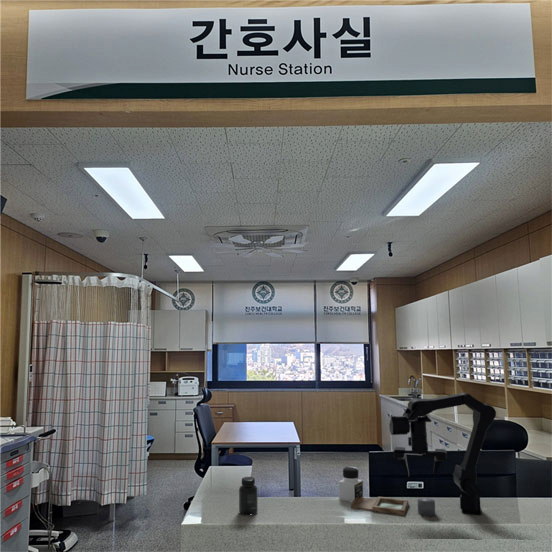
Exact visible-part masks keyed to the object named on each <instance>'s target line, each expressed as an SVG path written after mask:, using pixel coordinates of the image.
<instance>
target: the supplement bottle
mask: <svg viewBox="0 0 552 552" xmlns="http://www.w3.org/2000/svg"><path fill="white" fill-rule="evenodd" d="M258 503H259V501H258V487H257V485H256V478H255V477H253V476H244V477H242V478H241V485H240V487H239V489H238V505H239V506H238V513H239V512H240V513H241V514H240V513H239V514H240V515H242V514H244V515H243V516H245V515H250V514H254V513H256V512H257V513H258V509H259V508H258ZM257 513H256V514H257ZM254 515H255V514H254ZM250 516H251V515H250Z"/></svg>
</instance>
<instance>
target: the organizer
mask: <svg viewBox="0 0 552 552" xmlns="http://www.w3.org/2000/svg"><path fill="white" fill-rule="evenodd" d="M408 506H409V500H408V499H403V498H402V499H400V498H393V497H385V496H377V498H371V497H369V498H368V497H364V496H363V497H361V498H359V496H358V497H356V498H355V499H354V500H353V502H351V504H350V508H351V509H353V510H361V509H363V510H362V511H368V510H371V511H370V512H376V511H378V512H377V513H385V514H392V515H399V516H405V515H406V512H407V510H408Z"/></svg>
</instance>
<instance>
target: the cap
mask: <svg viewBox="0 0 552 552" xmlns="http://www.w3.org/2000/svg"><path fill="white" fill-rule="evenodd" d="M417 514H418V515H420V516H422V517H428V518H431V517H435V516H436V501H435V499H432V498H429V497H419V498H417Z"/></svg>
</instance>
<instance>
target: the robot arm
mask: <svg viewBox="0 0 552 552" xmlns="http://www.w3.org/2000/svg"><path fill="white" fill-rule="evenodd" d="M464 405H465V407H467V408H468V409H470V410H471V411H473V412H472V429H471V432H470V436H469V440H468V442H467V447H466V451H465V454H464V457H463V461H462V462H461V463H460V465H458V464H455V466H454V471H453V472H452V476H453V481H454V484H456V485H457V487H459V490H460V491H461V493H460V496H459V508H460V509H461V513H462V514H463V513H465V514H472V515H482V506H481V498H482V496H483V493H484V490H483V489H481V487H479V486H478V485H477V478H478V477H477V470H476V469H477V464H478V461H479V457H480V454H481V450H482V448H483V444H484V440H485V437H486V433H487V430H488V429H489V428H490V427H491V426H492V424H493V422H494V420H495V418H496V416H497V411H496V409H495V408H494V406H492V405H490V404H487V403H484V402H482V401H480V400H478V399H477V398H475V397H474V396H472V395H471V394H470V393H467V392H460V393H457V394H456V393H455V394H451V395H445V396H440V397H436V398H435V397H434V398H411V399H410V400H409V401H408V402H407V407H406V408H405V410H404V412H403V414H402V415H397V416H396V415H390V419H389V424H388V425H389V426H388V428H389V431H390V432H389V433H390V435H391V436H399V435H400V436H402V435H403V436H404V435H408V434H410V436H408V438H407V440H408V441H407V442H408V444H407V445H408V447H411V450H409V449H406V447H404V446H402V447H401V446H396V447H394V449H393V453H392V454H393V459H397V461H399V462H400V463H401V465H402V467H403V469H404V472H405V473H406V476H407V477H408V478H409V477H410V470H409V465H408V464H409V463H408V460H407V459H408V458H407V457H408V456H409V457H410V456H411V457H426V458H427V457H429V458H430V457H431V458H432V457H433V458H434V465H433V479H434V480H436V477H437V473H438V469H439V467H440V465H441V464H443V463H444V462H445V461H448V456H447V455H448V454H447V450H446V449H444V448H435V449H434V451H430V450H429V444H428V435H427V423H431V422H432V419H430V418H429V416H428V415H429V414H431V413H432V412H434V411H437V410H442V409H448V408H453V407H458V406H464Z"/></svg>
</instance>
